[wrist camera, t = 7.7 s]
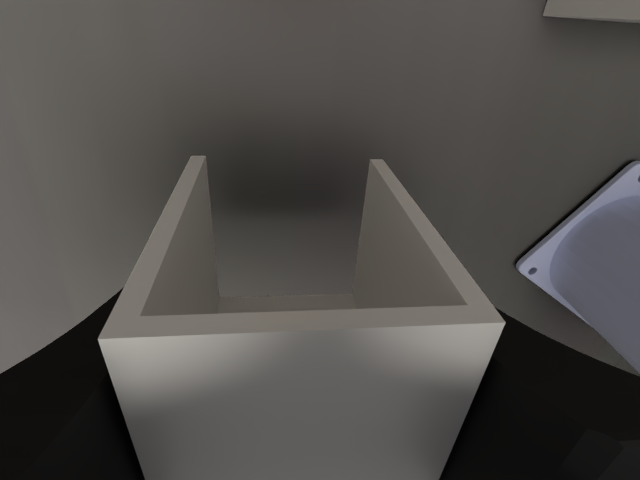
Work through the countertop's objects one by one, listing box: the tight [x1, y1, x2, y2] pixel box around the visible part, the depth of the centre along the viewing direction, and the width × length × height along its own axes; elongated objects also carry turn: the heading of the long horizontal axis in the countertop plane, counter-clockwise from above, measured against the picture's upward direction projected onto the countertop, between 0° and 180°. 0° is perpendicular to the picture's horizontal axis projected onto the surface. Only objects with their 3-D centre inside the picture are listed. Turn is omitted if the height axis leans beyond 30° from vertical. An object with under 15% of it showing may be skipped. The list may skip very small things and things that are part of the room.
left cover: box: [98, 156, 506, 480], centre depth 10 cm, size 6×6×7 cm
